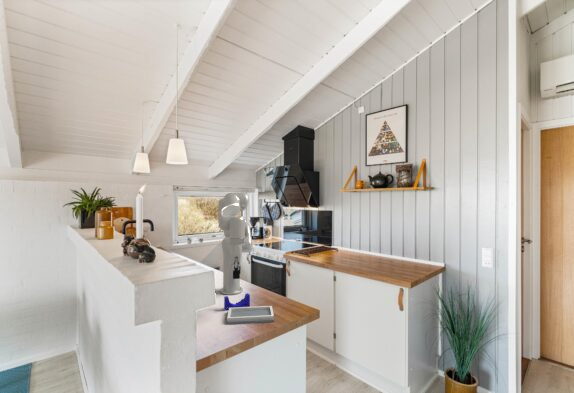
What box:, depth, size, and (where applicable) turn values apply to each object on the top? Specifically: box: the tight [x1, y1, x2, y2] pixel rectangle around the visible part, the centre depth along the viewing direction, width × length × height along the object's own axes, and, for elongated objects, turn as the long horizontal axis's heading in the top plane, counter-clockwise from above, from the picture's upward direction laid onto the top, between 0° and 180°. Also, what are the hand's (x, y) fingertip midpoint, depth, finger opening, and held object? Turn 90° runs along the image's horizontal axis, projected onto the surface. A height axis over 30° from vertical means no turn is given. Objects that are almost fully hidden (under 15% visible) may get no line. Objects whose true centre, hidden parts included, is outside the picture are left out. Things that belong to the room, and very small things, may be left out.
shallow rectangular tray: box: [226, 305, 275, 325], centre depth 127 cm, size 14×20×2 cm
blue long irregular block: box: [223, 292, 251, 312], centre depth 138 cm, size 12×4×6 cm, turn 114°
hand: (236, 276), depth 138 cm, fingers open, 9 cm apart
